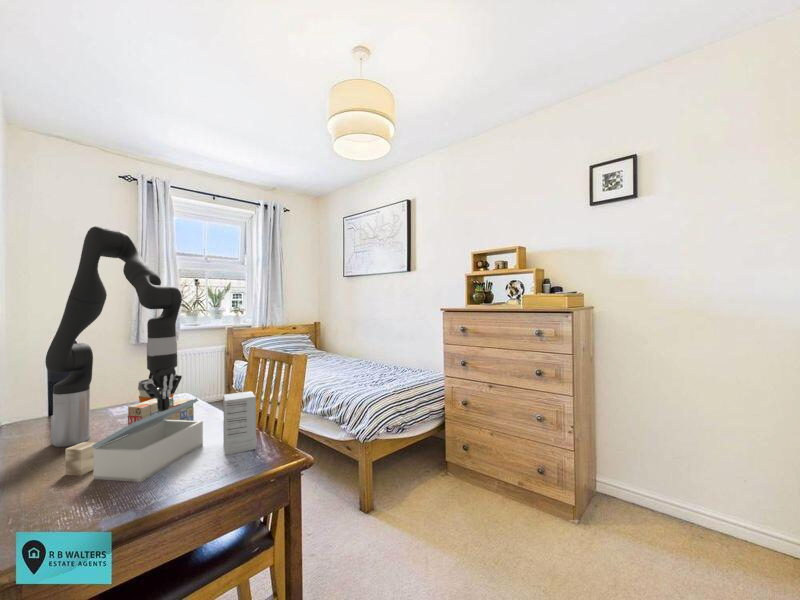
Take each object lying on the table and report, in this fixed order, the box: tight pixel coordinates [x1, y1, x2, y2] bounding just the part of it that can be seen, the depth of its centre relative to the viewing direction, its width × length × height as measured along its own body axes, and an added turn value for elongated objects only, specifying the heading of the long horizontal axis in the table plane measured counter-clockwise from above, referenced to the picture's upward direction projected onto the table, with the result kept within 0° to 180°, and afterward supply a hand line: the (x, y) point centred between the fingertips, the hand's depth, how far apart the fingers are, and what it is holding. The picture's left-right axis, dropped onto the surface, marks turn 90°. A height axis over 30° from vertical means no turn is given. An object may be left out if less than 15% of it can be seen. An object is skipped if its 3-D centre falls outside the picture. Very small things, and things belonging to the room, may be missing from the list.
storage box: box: [93, 420, 204, 483], centre depth 106 cm, size 14×24×8 cm, turn 173°
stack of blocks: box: [127, 397, 195, 435], centre depth 131 cm, size 21×6×12 cm, turn 165°
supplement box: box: [222, 391, 257, 456], centre depth 116 cm, size 10×9×17 cm
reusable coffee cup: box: [137, 378, 174, 403], centre depth 148 cm, size 13×13×15 cm
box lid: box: [92, 398, 199, 448], centre depth 106 cm, size 14×24×1 cm, turn 173°
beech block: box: [64, 441, 96, 476], centre depth 100 cm, size 5×5×7 cm
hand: (163, 410), depth 106 cm, fingers closed
